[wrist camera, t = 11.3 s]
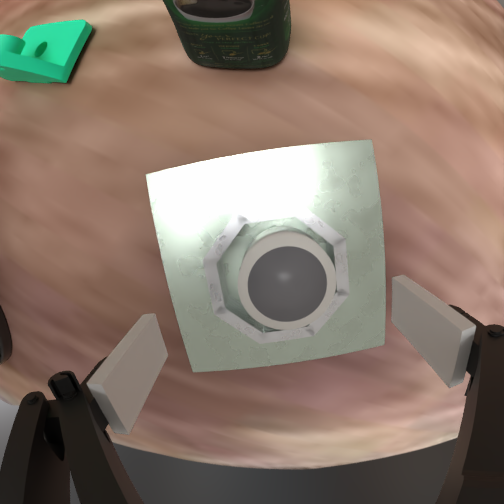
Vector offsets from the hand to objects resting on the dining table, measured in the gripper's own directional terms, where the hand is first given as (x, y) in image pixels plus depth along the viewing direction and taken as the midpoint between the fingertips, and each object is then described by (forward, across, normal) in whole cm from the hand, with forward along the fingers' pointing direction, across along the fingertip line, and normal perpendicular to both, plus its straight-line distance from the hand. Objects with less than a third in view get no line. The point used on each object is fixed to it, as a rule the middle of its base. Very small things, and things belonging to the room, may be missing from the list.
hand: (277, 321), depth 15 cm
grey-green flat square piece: (+12, +1, 0) cm, 12 cm away
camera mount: (+12, -21, +29) cm, 38 cm away
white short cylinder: (+10, +1, 0) cm, 11 cm away
